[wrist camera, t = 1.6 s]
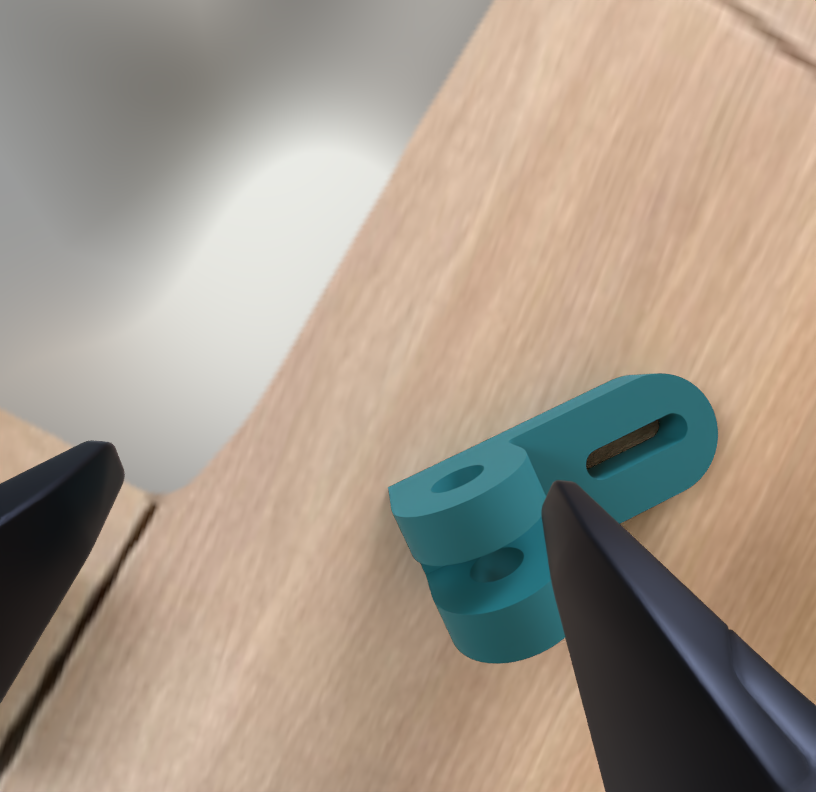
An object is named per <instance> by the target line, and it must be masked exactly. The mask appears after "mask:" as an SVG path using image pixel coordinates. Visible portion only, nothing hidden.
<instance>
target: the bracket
mask: <svg viewBox="0 0 816 792" xmlns="http://www.w3.org/2000/svg"><path fill="white" fill-rule="evenodd" d="M657 419H658V420H659V430H658V432H657V434H656V435H655V436H654V437H652V438H650V439H648V440H646V441H644V442H642V443H640V444H638V445H636V446H634V447H632V448H630V449H628V450H626V451H624V452H622V453H620V454H618V455H616V456H614V457H612V458H610V459H608V460H606V461H604V462H602V463H600V464H597V465H595V466H593V467H591V468H589V469H587V468H586V461H587V458H588V456H589V455H590V453H591V452H593V451H594V450H596V449H598V448H600V447H602V446H604V445H606V444H608V443H610V442H612V441H614V440H616V439H619V438H621V437H623V436H625V435H627V434H629V433H631V432H633V431H635V430H637V429H639V428H641V427H643V426H645V425H647V424H649V423H651V422H653V421H655V420H657ZM717 441H718V428H717V421H716V417H715V414H714V411H713V409H712V406H711V404H710V403H709V401H708V399H707V398H706V397H705V395H704V394H703V393H702V392H701V391H700V390H699V389H698V388H697V387H696V386H695V385H693V384H692V383H691V382H689V381H687V380H685V379H683V378H681V377H678V376H675V375H670V374H661V373H660V374H642V375H627V376H622V377H618V378H616V379H613V380H611V381H609V382H607V383H605V384H603V385H600V386H598V387H596V388H594V389H592V390H590V391H588V392H586V393H584V394H582V395H580V396H578V397H575V398H573V399H571V400H569V401H567V402H565V403H563V404H561V405H559V406H557V407H555V408H553V409H550V410H548V411H546V412H544V413H542V414H540V415H538V416H536V417H534V418H532V419H530V420H527V421H525V422H523V423H521V424H519V425H517V426H515V427H513V428H511V429H509V430H507V431H505V432H502V433H500V434H498V435H496V436H494V437H492V438H490V439H488V440H486V441H484V442H482V443H480V444H477V445H475V446H473V447H471V448H469V449H467V450H465V451H463V452H461V453H459V454H457V455H454V456H452V457H450V458H448V459H446V460H444V461H442V462H440V463H438V464H436V465H434V466H432V467H429V468H427V469H425V470H423V471H421V472H419V473H417V474H415V475H413V476H411V477H409V478H407V479H404V480H402V481H400V482H398V483H396V484H394V485H392V486H390V487H388V489H389V496H390V503H391V510H392V513H393V515H394V517H395V519H396V521H397V523H398V526H399V528H400V530H401V532H402V534H403V536H404V538H405V540H406V543H407V545H408V547H409V549H410V551H411V553H412V555H413V557H414V558H415V560H417V561H418V562H420V563H421V565H422V568H423V570H424V572H425V574H426V577H427V580H428V584H429V587H430V591H431V594H432V598H433V600H434V602H435V604H436V606H437V609H438V611H439V613H440V615H441V617H442V619H443V621H444V623H445V626H446V628H447V630H448V632H449V634H450V636H451V638H452V641H453V643H454V644H455V646H456V648H457V649H458V650H459V651H460V652H461V653H463V654H464V655H465V656H467V657H469V658H471V659H473V660H476V661H480V662H485V663H509V662H515V661H519V660H524V659H527V658H530V657H533V656H535V655H537V654H540V653H542V652H544V651H546V650H548V649H549V648H551V647H553V646H554V645H556V644H557V643H559V642H560V641H561V640H562V639H564V638H565V634H564V630H563V626H562V623H561V619H560V615H559V611H558V607H557V603H556V600H555V596H554V591H553V587H552V582H551V577H550V571H549V564H548V557H547V550H546V543H545V537H544V530H543V523H542V516H541V510H542V505H543V503H544V500H545V498H546V496H547V494H548V492H549V490H550V487H551V485H552V484H553V482H554V481H556V480H562V481H572V482H575V483H576V484H578V485H579V486H580V487H581V488H582V489H583V490H584V491H585V492H586V493H587V494H588V495H589V496H590V497H592V498H593V499H594V500H595V501H596V502H597V503H598V504H599V505H600V506H601V507H602V508H603V509H604V510H605V511H606V512H607V513H609V514H610V515H611V516H612V517H613V518H614V519H615V520H616V521H617V522H618V523H619V524H620V523H622V522H624V521H626V520H628V519H630V518H632V517H634V516H636V515H638V514H640V513H642V512H644V511H646V510H648V509H650V508H652V507H654V506H656V505H658V504H660V503H662V502H664V501H665V500H667V499H669V498H671V497H673V496H675V495H677V494H679V493H681V492H683V491H685V490H687V489H688V488H690V487H691V486H693V485H694V484H695V483H696V482H698V481H699V480H700V479H701V477H702V476H703V475H704V474H705V472H706V471H707V470H708V468H709V466H710V464H711V462H712V460H713V458H714V455H715V452H716V447H717Z"/></svg>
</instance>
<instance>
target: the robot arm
mask: <svg viewBox="0 0 816 792" xmlns="http://www.w3.org/2000/svg"><path fill="white" fill-rule="evenodd" d="M124 475H125V474H124V469H123V466H122V464H121V461H120V459H119V456H118V453H117V451H116V448H115V446H114V445H113V444H112V443H109V442H103V441H86V442H84V443H81V444H79V445H77V446H75V447H73V448H71V449H69V450H67V451H65V452H63V453H61V454H59V455H57V456H55V457H53V458H51V459H49V460H47V461H45V462H43V463H41V464H39V465H37V466H35V467H33V468H31V469H29V470H27V471H25V472H23V473H21V474H19V475H17V476H15V477H13V478H11V479H9V480H7V481H5V482H3V483H1V484H0V703H1V702H2V700H3V698H4V697H5V695H6V693H7V692H8V690H9V688H10V687H11V685H12V683H13V682H14V680H15V678H16V677H17V675H18V673H19V672H20V670H21V668H22V667H23V665H24V663H25V662H26V660H27V658H28V657H29V655H30V653H31V652H32V650H33V648H34V647H35V645H36V643H37V642H38V640H39V638H40V637H41V635H42V633H43V632H44V630H45V628H46V627H47V625H48V623H49V622H50V620H51V618H52V617H53V615H54V613H55V612H56V610H57V608H58V606H59V605H60V603H61V601H62V600H63V598H64V596H65V595H66V593H67V591H68V590H69V588H70V586H71V585H72V583H73V581H74V580H75V578H76V576H77V575H78V573H79V571H80V570H81V568H82V566H83V565H84V563H85V561H86V559H87V558H88V556H89V554H90V552H91V550H92V548H93V546H94V544H95V542H96V540H97V538H98V536H99V534H100V532H101V530H102V527H103V525H104V523H105V521H106V519H107V517H108V514H109V512H110V510H111V508H112V506H113V504H114V501H115V499H116V497H117V495H118V493H119V491H120V489H121V486H122V484H123V481H124ZM541 516H542V523H543V530H544V537H545V543H546V550H547V557H548V564H549V571H550V577H551V582H552V587H553V591H554V596H555V600H556V603H557V607H558V611H559V615H560V619H561V623H562V626H563V630H564V634H565V638H566V642H567V646H568V649H569V653H570V657H571V661H572V665H573V669H574V672H575V676H576V680H577V684H578V688H579V692H580V695H581V699H582V703H583V707H584V711H585V715H586V718H587V722H588V726H589V730H590V734H591V738H592V741H593V745H594V749H595V753H596V757H597V761H598V764H599V768H600V772H601V776H602V780H603V784H604V787H605V791H606V792H816V705H815V704H813V703H812V702H811V701H810V700H809V699H808V698H806V697H805V696H804V695H803V694H802V693H801V692H800V691H798V690H797V689H796V688H795V687H794V686H793V685H791V684H790V683H789V682H788V681H787V680H786V679H785V678H784V677H782V676H781V675H780V674H779V673H778V672H777V671H776V670H775V669H774V668H773V667H772V666H770V665H769V664H768V663H767V662H766V661H765V660H764V659H763V658H762V657H761V656H760V655H758V654H757V653H756V652H755V651H754V650H753V649H752V648H751V647H750V646H749V645H748V644H747V643H746V642H744V641H743V640H742V639H741V638H740V637H739V636H738V635H737V634H736V633H735V632H734V631H733V630H729V629H728V626H727V625H726V624H725V623H724V622H723V621H722V620H721V619H720V618H719V617H718V616H717V615H716V614H715V613H714V612H712V611H711V610H710V609H709V608H708V607H707V606H706V605H705V604H704V603H703V602H702V601H701V600H700V599H699V598H698V597H697V596H695V595H694V594H693V593H692V592H691V591H690V590H689V589H688V588H687V587H686V586H685V585H684V584H683V583H682V582H681V581H680V580H679V579H677V578H676V577H675V576H674V575H673V574H672V573H671V572H670V571H669V570H668V569H667V568H666V567H665V566H664V565H663V564H662V563H660V562H659V561H658V560H657V559H656V558H655V557H654V556H653V555H652V554H651V553H650V552H649V551H648V550H647V549H646V548H645V547H644V546H642V545H641V544H640V543H639V542H638V541H637V540H636V539H635V538H634V537H633V536H632V535H631V534H630V533H629V532H628V531H627V530H625V529H624V528H623V527H622V526H621V525H620V524H619V523H618V522H617V521H616V520H615V519H614V518H613V517H612V516H611V515H610V514H609V513H607V512H606V511H605V510H604V509H603V508H602V507H601V506H600V505H599V504H598V503H597V502H596V501H595V500H594V499H593V498H592V497H590V496H589V495H588V494H587V493H586V492H585V491H584V490H583V489H582V488H581V487H580V486H579V485H578V484H576V483H575V482H572V481H562V480H556V481H554V482H553V484H552V485H551V487H550V490H549V492H548V494H547V496H546V498H545V500H544V503H543V505H542V510H541Z"/></svg>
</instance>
